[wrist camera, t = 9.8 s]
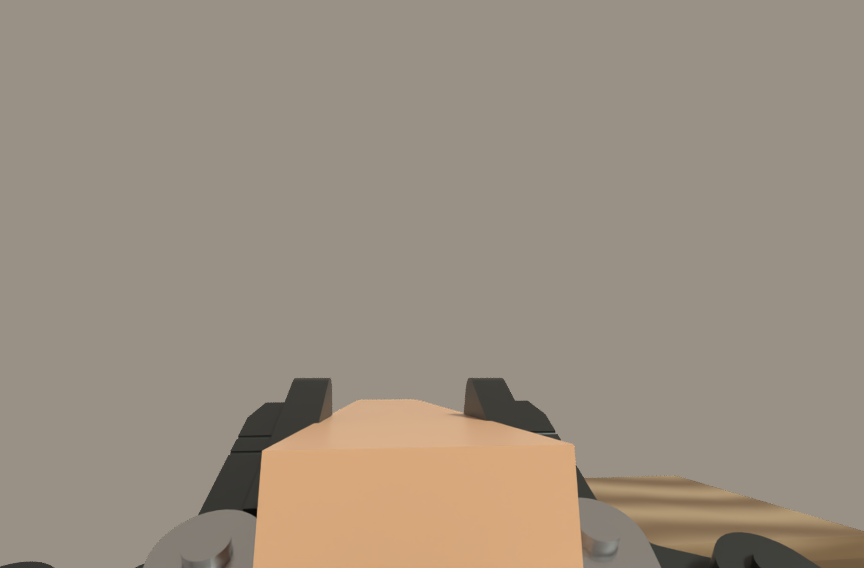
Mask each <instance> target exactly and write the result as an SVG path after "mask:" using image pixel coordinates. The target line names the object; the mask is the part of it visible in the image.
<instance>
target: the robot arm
mask: <svg viewBox="0 0 864 568" xmlns="http://www.w3.org/2000/svg"><path fill="white" fill-rule="evenodd" d="M464 414H465V415H469V416H472V417H475V418H479V419H482V420H485V421H493V422H497V423H500V424H504V425H507V426H511V427H514V428H518V429H521V430H525V431H529V432H532V433H536V434H539V435H543V436H546V437H550V438H553V439H557V440H560V441H561V439H560V438H559V436H558V434H555V430H554V428H553V426H552V425H551V423H550V421H549V420H548V418H547V416H546V415H545V414H544V413H543V412H542V411H540V410H539V409H538V408H536V407H535V406H534V405H532V404H531V403H530V402H529V401H515V400H514V398H513V396H512V394H511V392H510V391H509V388H508V386H507V385H506V383H505V381H504V379H503V378H469V379H468V381H467V385H466V394H465V406H464ZM330 416H332V384H331V379H330V378H295V379H294V380H293V382H292V385H291V388H290V390H289V393H288V395H287V398H286V400H285V403H265V404H264V405H263V406H261V407H260V408H259V409H258V410H256V411H255V412H254V413H253V414H252V415H250V416H249V417H248V418H247V420H246V422H245V424H244V426H243V428H242V430H241V432H240V434H239V436H238V437H239V438H238V439H237V440H236V442H235V444H234V446H233V447H232V449H231V454H230V455H228V457H227V460H226V461H225V463H224V466H223V467H222V469H221V471H220V473H219V475H218V477H217V479H216V481H215V483H214V485H213V487H212V489H211V491H210V493H209V495H208V497H207V499H206V501H205V503H204V505H203V507H202V509H201V511H200V512H199V515H198V516H196V517H193V518H191V519H189V520H187V521H185V522H183V523H181V524H180V525H178V526H177V527H175V528H174V529H172V530H171V531H170V532H168V533H167V534H166V535H165V536H164V537H163V538H162V539H161V540H160V541H159V542H158V543H157V544H156V545H155V547H154V548H153V549H152V551H151V552H150V554H149V555H148V558H147V560H146V562H145V564H142V565H140V566H138V567H136V568H253V560H254V548H255V535H256V522H257V509H258V497H259V484H260V471H261V458H262V450H264V449H266V448H268V447H270V446H272V445H274V444H276V443H278V442H280V441H281V440H283V439H285V438H287V437H289V436H291V435H293V434H295V433H297V432H299V431H300V430H302V429H304V428H306V427H308V426H310V425H312V424H314V423H320V422H322V421H323V420H325V419H327V418H329V417H330ZM576 475H577V489H578V503H579V516H580V530H581V543H582V557H583V568H821V567H819V566H818V565H816V564H815V563H813V562H812V561H810V560H808V559H807V558H805V557H804V556H802V555H801V554H799V553H797V552H796V551H794V550H793V549H791V548H789V547H787V546H785V545H783V544H781V543H779V542H777V541H774V540H772V539H769V538H766V537H763V536H760V535H756V534H752V533H744V532H732V533H728V534H725V535H723V536H721V537H720V538H719V539H718V540H717V542H716V544H715V546H714V549H713V553H712V556H711V558H710V557H705V556H701V555H697V554H692V553H688V552H684V551H679V550H675V549H671V548H666V547H662V546H659V545H655V544H653V543H650V542H649V541H648V539H647V537H646V536H645V534H644V532H643V531H642V530H641V529H640V527H639V526H638V525H637V524H636V523H635V522H634V521H633V520H632V519H631V518H630V517H628V516H627V515H626V514H625V513H623V512H621V511H620V510H618V509H617V508H615V507H613V506H611V505H609V504H606V503H604V502H601V501H598V500H597V499H596V497H595V496H594V494H593V492H592V491H591V489H590V487H589V486H588V484H587V482H586V481H585V479H584V477H583V476H582V474H581V473H580V471H579V469H578V468H577V466H576ZM0 568H53V567H52V566H51V565H48V564H45V563H42V562H19V563H13V564H8V565H5V566H1V567H0Z"/></svg>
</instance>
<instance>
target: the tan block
mask: <svg viewBox="0 0 864 568" xmlns="http://www.w3.org/2000/svg"><path fill="white" fill-rule="evenodd" d="M253 568H583V557H582V543H581V530H580V516H579V503H578V489H577V475H576V463H575V448H574V444H570V443H567V442H563V441H560V440H557V439H553V438H550V437H546V436H543V435H539V434H536V433H532V432H529V431H525V430H521V429H518V428H514V427H511V426H507V425H504V424H500V423H497V422H493V421H485V420H482V419H479V418H475V417H472V416H469V415H465V414H464V413H461V412H458V411H455V410H451V409H448V408H444V407H441V406H437V405H434V404H430V403H427V402H423V401H420V400H416V399H394V400H391V399H390V400H357V401H355V402H354V403H352V404H350V405H348V406H346V407H344V408H342V409H340V410H339V411H337V412H335V413H333V414H332V416H330V417H329V418H327V419H325V420H323V421H322V422H320V423H314V424H312V425H310V426H308V427H306V428H304V429H302V430H300V431H299V432H297V433H295V434H293V435H291V436H289V437H287V438H285V439H283V440H281V441H280V442H278V443H276V444H274V445H272V446H270V447H268V448H266V449H264V450H262V458H261V471H260V484H259V497H258V509H257V522H256V535H255V548H254V560H253Z"/></svg>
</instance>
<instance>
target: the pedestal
mask: <svg viewBox="0 0 864 568" xmlns="http://www.w3.org/2000/svg"><path fill="white" fill-rule="evenodd" d="M584 479H585V481H586V482H587V484H588V486H589V487H590V489H591V491H592V492H593V494H594V496H595V497H596V499H597V500H598V501H601V502H604V503H606V504H609V505H611V506H613V507H615V508H617V509H618V510H620V511H621V512H623V513H625V514H626V515H627V516H628V517H630V518H631V519H632V520H633V521H634V522H635V523H636V524H637V525H638V526H639V527H640V529H641V530H642V531H643V532H644V534H645V536H646V537H647V539H648V541H649V542H650V543H653V544H655V545H659V546H662V547H666V548H671V549H675V550H679V551H684V552H688V553H692V554H697V555H701V556H705V557H710V558H711V556H712V553H713V549H714V546H715V544H716V542H717V540H718V539H719V538H720V537H721V536H723V535H725V534H728V533H732V532H744V533H752V534H756V535H760V536H763V537H766V538H769V539H772V540H774V541H777V542H779V543H781V544H783V545H785V546H787V547H789V548H791V549H793V550H794V551H796V552H797V553H799V554H801V555H802V556H804V557H805V558H807V559H808V560H810V561H812V562H813V563H815V564H816V565H818V566H819V567H821V568H864V531H861V530H858V529H854V528H851V527H847V526H844V525H841V524H837V523H834V522H830V521H827V520H824V519H820V518H817V517H813V516H810V515H807V514H803V513H800V512H797V511H794V510H790V509H787V508H783V507H780V506H777V505H773V504H770V503H767V502H763V501H760V500H756V499H753V498H750V497H746V496H743V495H740V494H736V493H733V492H729V491H726V490H723V489H719V488H716V487H713V486H709V485H705V484H702V483H699V482H696V481H692V480H689V479H685V478H682V477H678V476H646V477H612V478H584Z"/></svg>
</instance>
